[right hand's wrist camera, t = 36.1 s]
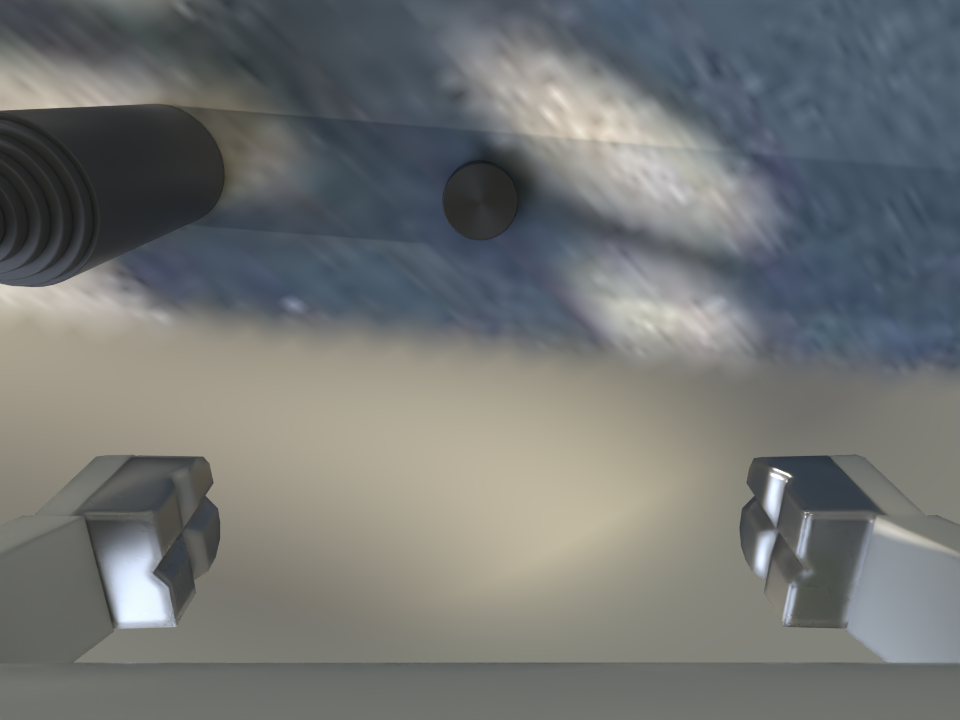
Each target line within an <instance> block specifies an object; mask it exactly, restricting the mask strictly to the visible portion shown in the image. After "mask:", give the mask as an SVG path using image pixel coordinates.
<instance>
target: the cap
mask: <svg viewBox="0 0 960 720" xmlns="http://www.w3.org/2000/svg"><path fill="white" fill-rule="evenodd" d="M442 203H443V211H444V214H445V217H446V219H447V221H448V223H449V224H450V225H451V227H452V228H453V229H454V230H455V231H456V232H458V233H459V234H461V235H462V236H464V237H467V238H470V239H474V240H487V239H491V238H494V237H496V236H498V235H500V234H501V233H503V232H504V231H505V230H506V229H507V228H508V227H509V226H510V224H511V223H512V221H513V220H514V217H515V215H516V212H517V207H518V197H517V192H516V189H515V186H514V183H513V181H512V179H511V178H510V176H509V175H508V174H507V172H506V171H505V170H503V169H502V168H501V167H499V166H498V165H496V164H494V163H491V162H487V161H473V162H469V163H467V164H464V165H462V166H461V167H459V168H458V169H457V170H456V171H455V172H454V173H453V174H452V175H451V176H450V178H449V180H448V181H447V184H446V186H445V189H444V193H443V199H442Z"/></svg>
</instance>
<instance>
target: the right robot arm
mask: <svg viewBox="0 0 960 720" xmlns="http://www.w3.org/2000/svg"><path fill="white" fill-rule="evenodd" d="M212 484H213V479H212V474H211V469H210V464H209V463H208V462H207V460H206V459H205V458H204V457H191V456H135V455H107V456H98V457H95V458H94V459H93V460H92V461H91V462H90V463H89V464H88V465H87V466H86V467H85V468H84V469H83V470H82V471H80V472H79V473H78V474H77V475H76V476H75V477H74V478H73V479H72V480H71V481H70V482H69V483H68V484H67V485H66V486H64V487H63V488H62V489H61V490H60V491H59V492H58V493H57V494H56V495H55V496H54V497H53V498H52V499H51V500H50V501H48V502H47V503H46V504H45V505H44V506H43V507H42V508H41V509H40V510H39V511H38V512H37V513H36V514H35V515H23V516H20V517H18V518H15V519H13V520H10V521H8V522H6V523H3V524H1V525H0V720H960V525H959V524H957V523H954V522H952V521H950V520H947V519H945V518H942V517H940V516H937V515H925V514H924V513H923V512H922V511H921V510H920V509H919V508H918V507H917V506H916V505H915V504H914V503H913V502H912V501H910V500H909V499H908V498H907V497H906V496H905V495H904V494H903V493H902V492H901V491H900V490H899V489H898V488H897V487H896V486H895V485H894V484H892V483H891V482H890V481H889V480H888V479H887V478H886V477H885V476H884V475H883V474H882V473H881V472H880V471H879V470H878V469H877V468H875V467H874V466H873V465H872V464H871V463H870V462H869V461H868V460H867V459H866V458H864V457H861V456H858V455H836V456H790V457H760V458H754V459H753V461H752V464H751V466H750V468H749V473H748V478H747V484H748V486H749V487H750V489H751V491H752V492H753V494H754V495H755V496H754V497H753V498H752V499H751V500H750V501H749V502H748V503H747V504H746V505H745V506H744V507H743V508H742V514H741V521H740V538H741V547H742V550H743V554H744V557H745V560H746V562H747V563H748V565H749V567H750V569H751V571H752V572H754V573H755V574H757V575H758V576H760V577H762V578H763V579H765V580H766V584H765V590H764V594H765V595H766V597H767V599H768V601H769V602H770V604H771V606H772V608H773V609H774V611H775V613H776V615H777V616H778V618H779V620H780V621H781V623H782V625H783V627H808V628H845V629H846V632H848V633H849V634H850V635H852V636H853V637H854V638H856V639H857V640H858V641H860V642H861V643H862V644H863V645H865V646H866V647H867V648H869V649H870V650H871V651H873V652H874V653H875V654H877V655H878V656H879V657H881V658H882V659H883V660H885V661H886V662H887V663H73V662H74V661H76V660H77V659H78V658H80V657H81V656H82V655H84V654H85V653H86V652H88V651H89V650H90V649H92V648H93V647H94V646H95V645H97V644H98V643H99V642H101V641H102V640H103V639H105V638H106V637H107V636H109V635H110V634H111V633H113V632H114V630H113V629H114V628H150V627H177V625H178V623H179V622H180V620H181V618H182V616H183V615H184V613H185V611H186V609H187V608H188V606H189V604H190V602H191V601H192V599H193V597H194V596H195V594H196V590H195V584H194V580H195V579H197V578H198V577H200V576H201V575H203V574H205V573H206V572H208V571H209V569H210V567H211V565H212V563H213V561H214V559H215V558H216V554H217V549H218V545H219V541H220V519H219V513H218V508H217V507H216V506H215V505H214V504H213V503H212V502H211V501H210V500H209V499H208V498H207V497H206V496H205V495H206V494H207V492H208V491H209V489H210V487H211V486H212Z"/></svg>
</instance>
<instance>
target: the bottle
mask: <svg viewBox="0 0 960 720" xmlns="http://www.w3.org/2000/svg"><path fill="white" fill-rule="evenodd" d="M223 183H224V166H223V161H222V157H221V154H220V151H219V149H218V146H217V144H216V142H215V141H214V139H213V137H212V136H211V134H210V133H209V132H208V131H207V129H206V128H205V127H204V126H203V125H202V124H201V123H200V122H199V121H197V120H196V119H195V118H194V117H192V116H191V115H189V114H188V113H186V112H184V111H182V110H180V109H177V108H175V107H172V106H168V105H162V104H144V105H121V106H98V107H75V108H52V109H29V110H6V111H0V283H1V284H6V285H11V286H25V287H43V286H49V285H54V284H57V283H60V282H63V281H65V280H67V279H69V278H71V277H74V276H76V275H78V274H80V273H82V272H84V271H87V270H89V269H91V268H93V267H95V266H98V265H100V264H102V263H104V262H106V261H108V260H111V259H113V258H115V257H117V256H119V255H121V254H124V253H126V252H128V251H130V250H132V249H135V248H137V247H139V246H141V245H143V244H145V243H148V242H150V241H152V240H154V239H156V238H158V237H161V236H163V235H165V234H167V233H169V232H172V231H174V230H176V229H178V228H180V227H182V226H185V225H187V224H189V223H191V222H193V221H195V220H197V219H199V218H201V217H203V216H204V215H206V214H207V213H208V212H209V211H210V210H211V209H212V208H213V207H214V205H215V204H216V202H217V201H218V199H219V197H220V194H221V191H222V188H223Z"/></svg>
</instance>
